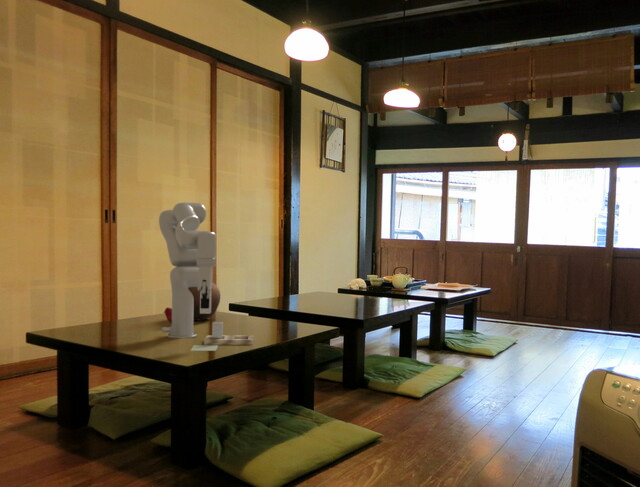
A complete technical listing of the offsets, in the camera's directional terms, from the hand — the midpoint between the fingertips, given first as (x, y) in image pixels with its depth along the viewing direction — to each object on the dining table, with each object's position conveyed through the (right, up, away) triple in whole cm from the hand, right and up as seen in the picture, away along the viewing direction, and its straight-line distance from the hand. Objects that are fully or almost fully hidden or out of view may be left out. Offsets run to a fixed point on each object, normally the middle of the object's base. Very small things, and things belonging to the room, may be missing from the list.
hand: (205, 307), depth 219 cm
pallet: (+8, -17, +12) cm, 22 cm away
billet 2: (+3, -17, +11) cm, 21 cm away
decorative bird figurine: (-24, -16, +50) cm, 58 cm away
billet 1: (0, -2, 0) cm, 2 cm away
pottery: (-19, -15, +71) cm, 75 cm away
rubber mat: (0, -17, 0) cm, 17 cm away
